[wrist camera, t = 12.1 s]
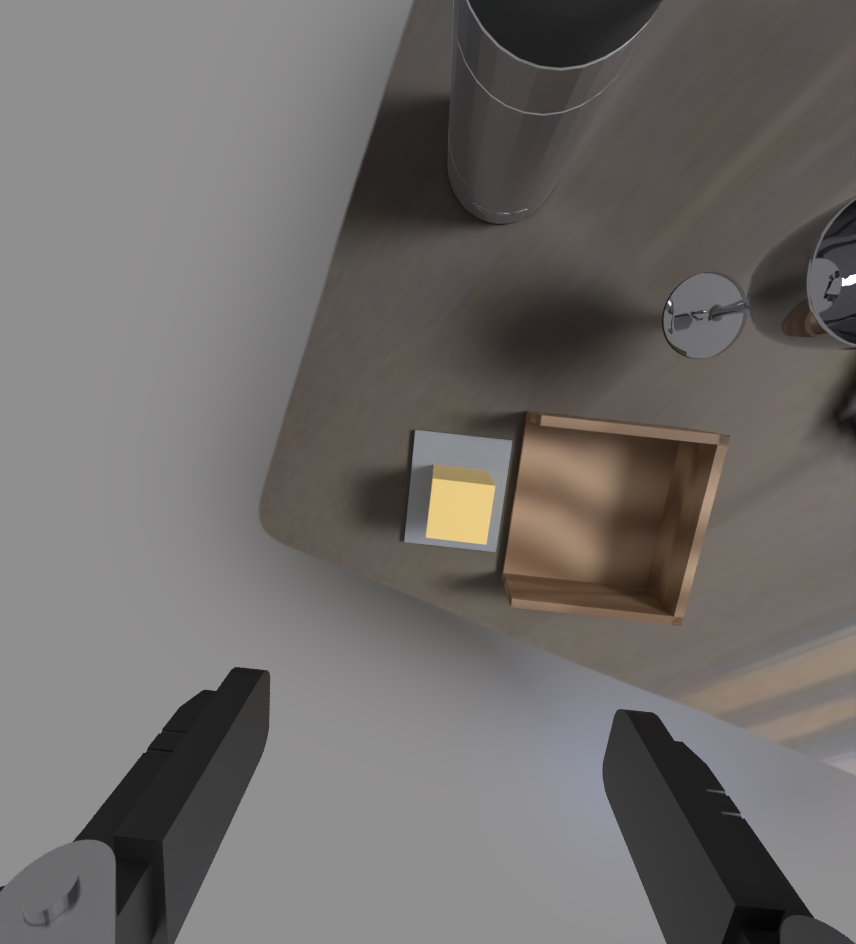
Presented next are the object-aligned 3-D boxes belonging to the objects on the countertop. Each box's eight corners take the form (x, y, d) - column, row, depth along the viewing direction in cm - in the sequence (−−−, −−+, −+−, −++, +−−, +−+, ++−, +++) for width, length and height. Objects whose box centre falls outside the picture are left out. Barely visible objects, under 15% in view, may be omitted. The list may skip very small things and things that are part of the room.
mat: (415, 429, 38) (415, 430, 38) (511, 440, 38) (512, 440, 38) (404, 540, 40) (404, 541, 40) (495, 550, 40) (495, 552, 40)
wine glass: (764, 336, 36) (991, 301, 21) (677, 379, 37) (836, 374, 22) (734, 248, 34) (953, 145, 20) (644, 295, 35) (790, 230, 21)
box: (527, 411, 38) (542, 415, 32) (687, 428, 38) (730, 435, 32) (501, 577, 41) (510, 607, 36) (648, 593, 41) (681, 625, 35)
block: (433, 464, 38) (432, 478, 33) (486, 470, 38) (495, 485, 33) (427, 515, 39) (425, 537, 34) (479, 521, 39) (486, 544, 34)
